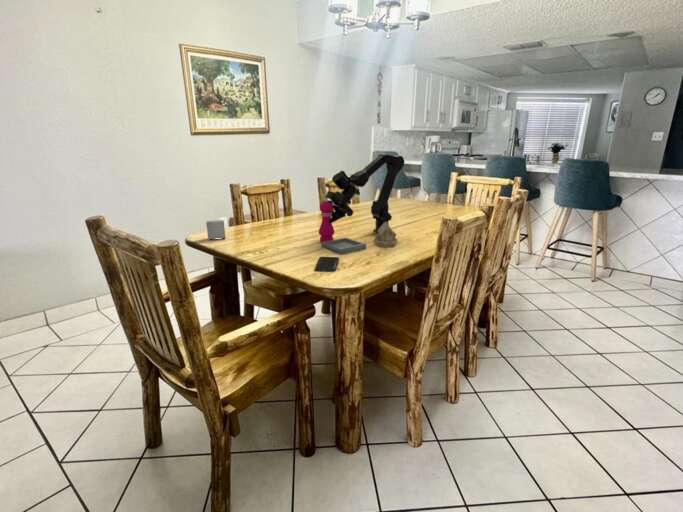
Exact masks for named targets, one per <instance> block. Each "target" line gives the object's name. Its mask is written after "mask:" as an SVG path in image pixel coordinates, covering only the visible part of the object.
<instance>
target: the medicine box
mask: <svg viewBox="0 0 683 512" xmlns="http://www.w3.org/2000/svg"><path fill="white" fill-rule="evenodd" d="M205 225H206V232H207V240H208V239H215V238H226V229H225V222H224V220H223V219H219V220H218V219H217V220H207V221H206V223H205Z"/></svg>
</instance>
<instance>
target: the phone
mask: <svg viewBox="0 0 683 512" xmlns="http://www.w3.org/2000/svg"><path fill="white" fill-rule="evenodd" d="M339 261H340V257H336V256H320V257H318V260H317V261H316V264H315V266H314V271H315V272H324V273H325V272H327V273H328V272H329V273H333V272H334V273H335V272H336V271H337V269H338V264H339Z"/></svg>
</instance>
